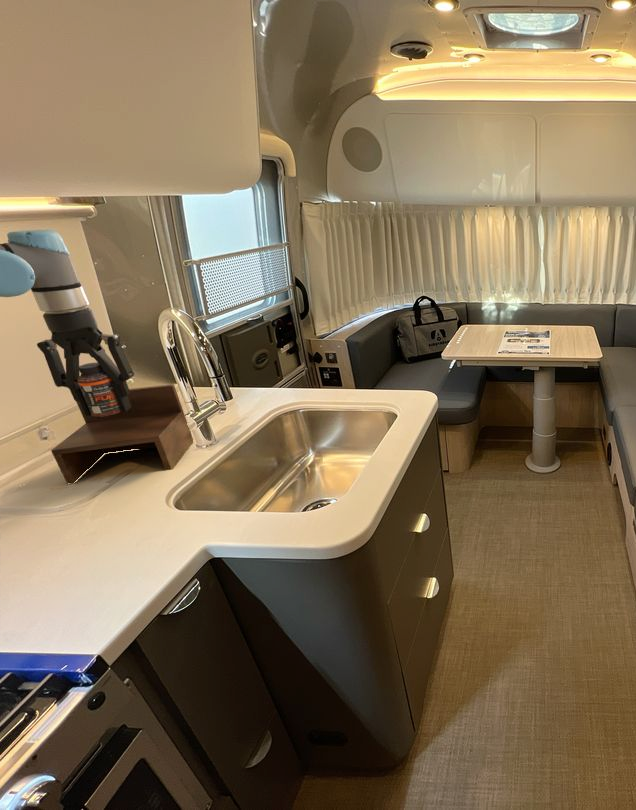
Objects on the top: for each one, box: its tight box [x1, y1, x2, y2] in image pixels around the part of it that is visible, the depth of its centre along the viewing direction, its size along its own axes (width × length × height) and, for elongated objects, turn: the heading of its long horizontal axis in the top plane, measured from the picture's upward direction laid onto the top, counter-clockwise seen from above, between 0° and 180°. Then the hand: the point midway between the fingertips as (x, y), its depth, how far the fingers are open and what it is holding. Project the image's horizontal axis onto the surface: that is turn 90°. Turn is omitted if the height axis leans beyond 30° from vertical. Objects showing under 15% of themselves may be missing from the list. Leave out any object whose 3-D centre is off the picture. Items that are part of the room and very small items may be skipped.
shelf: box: [50, 384, 194, 485], centre depth 113 cm, size 15×20×16 cm
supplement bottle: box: [78, 361, 122, 417], centre depth 106 cm, size 6×6×11 cm
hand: (109, 411), depth 109 cm, fingers closed on supplement bottle, 6 cm apart
